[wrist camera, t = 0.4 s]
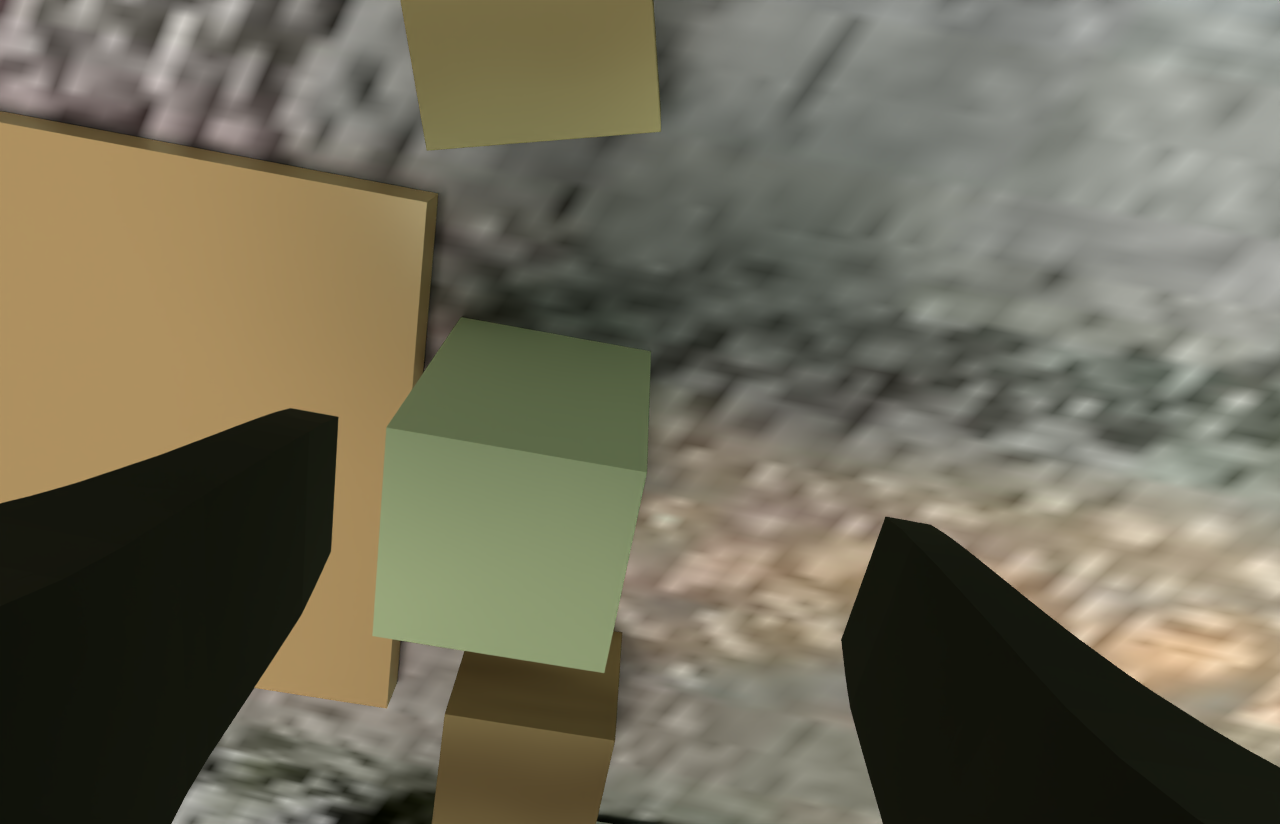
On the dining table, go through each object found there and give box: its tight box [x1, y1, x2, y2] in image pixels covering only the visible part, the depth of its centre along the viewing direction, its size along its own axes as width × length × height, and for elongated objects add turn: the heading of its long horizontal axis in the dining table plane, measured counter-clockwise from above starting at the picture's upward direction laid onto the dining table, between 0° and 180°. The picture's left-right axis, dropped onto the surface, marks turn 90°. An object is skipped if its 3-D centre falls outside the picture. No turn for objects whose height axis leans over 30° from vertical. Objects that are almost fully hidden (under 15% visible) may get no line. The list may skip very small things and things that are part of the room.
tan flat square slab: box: [0, 111, 438, 708], centre depth 21 cm, size 14×14×1 cm
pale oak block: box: [401, 0, 661, 151], centre depth 16 cm, size 4×4×4 cm
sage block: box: [372, 317, 651, 673], centre depth 18 cm, size 4×4×6 cm
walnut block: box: [432, 631, 622, 824], centre depth 23 cm, size 4×4×4 cm
